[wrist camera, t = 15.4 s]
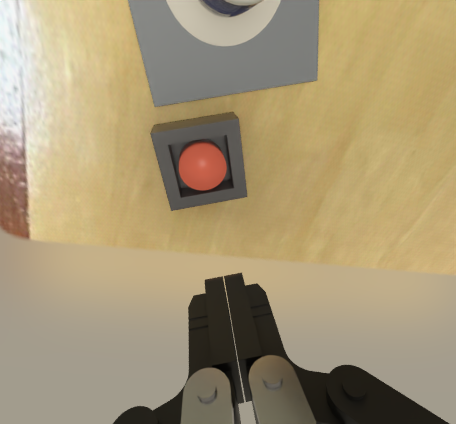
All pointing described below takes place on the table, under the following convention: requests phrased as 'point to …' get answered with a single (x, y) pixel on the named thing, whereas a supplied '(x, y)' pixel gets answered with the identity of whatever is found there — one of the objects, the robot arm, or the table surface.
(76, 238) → the table surface
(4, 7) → the table surface
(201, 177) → the button
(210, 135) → the button housing
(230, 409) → the robot arm
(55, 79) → the table surface
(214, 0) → the pill bottle
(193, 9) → the grey mat
